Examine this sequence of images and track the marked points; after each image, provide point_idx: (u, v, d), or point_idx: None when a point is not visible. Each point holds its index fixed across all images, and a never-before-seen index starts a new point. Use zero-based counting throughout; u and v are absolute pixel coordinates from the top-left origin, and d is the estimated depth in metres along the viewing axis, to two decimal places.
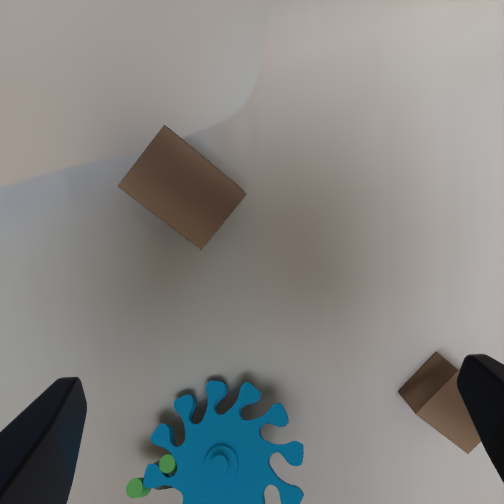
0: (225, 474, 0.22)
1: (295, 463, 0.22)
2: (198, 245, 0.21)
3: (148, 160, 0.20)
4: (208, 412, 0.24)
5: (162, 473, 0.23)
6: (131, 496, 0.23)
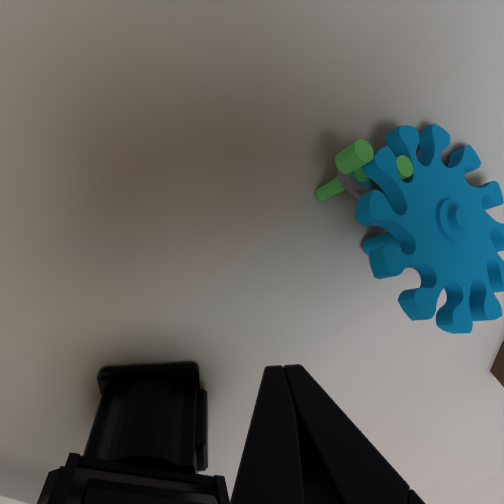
0: (456, 232, 0.17)
1: None
2: None
3: None
4: (458, 168, 0.19)
5: (395, 169, 0.17)
6: (357, 154, 0.16)
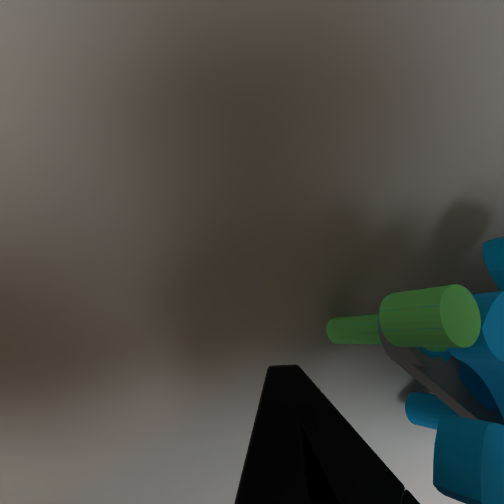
0: None
1: None
2: None
3: None
4: None
5: None
6: (447, 330, 0.06)
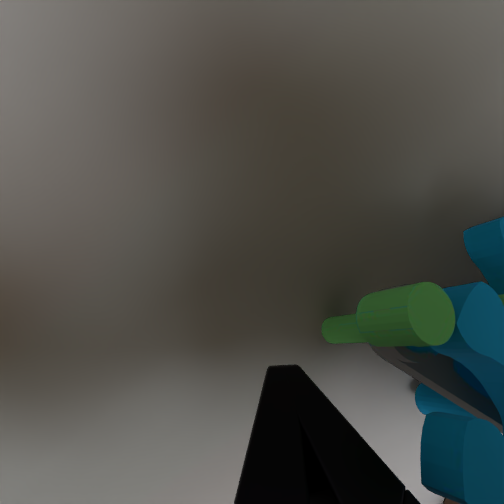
0: None
1: None
2: None
3: None
4: None
5: None
6: (417, 330, 0.06)
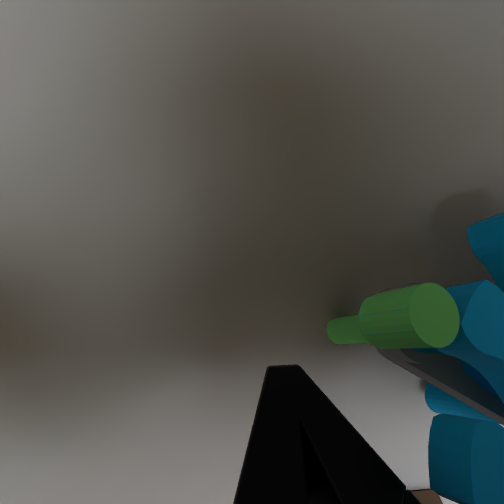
0: None
1: None
2: None
3: None
4: None
5: None
6: (420, 332, 0.06)
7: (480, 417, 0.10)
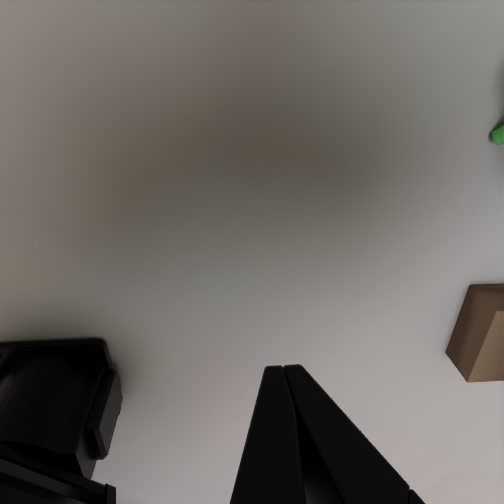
0: None
1: None
2: None
3: None
4: None
5: None
6: None
7: None
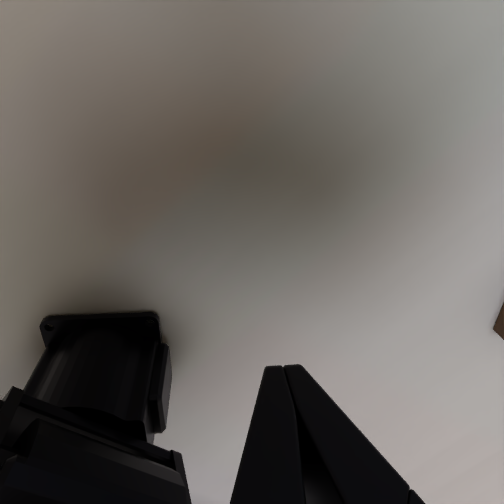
0: None
1: None
2: None
3: None
4: None
5: None
6: None
7: None
